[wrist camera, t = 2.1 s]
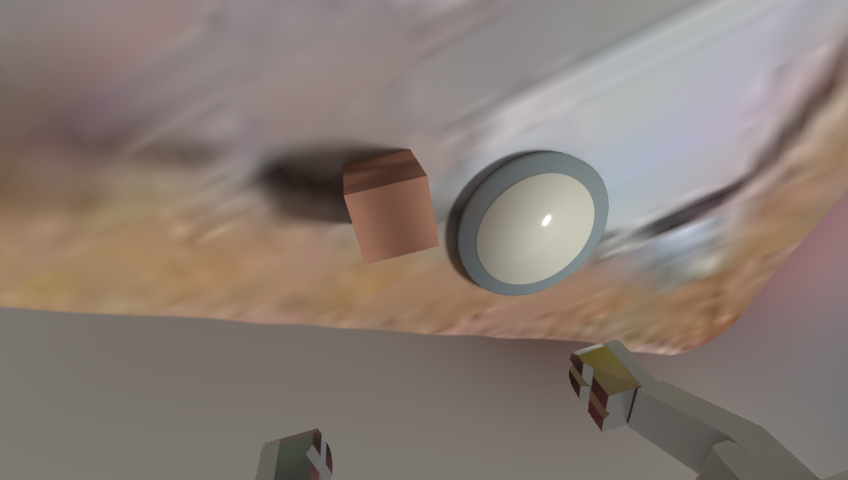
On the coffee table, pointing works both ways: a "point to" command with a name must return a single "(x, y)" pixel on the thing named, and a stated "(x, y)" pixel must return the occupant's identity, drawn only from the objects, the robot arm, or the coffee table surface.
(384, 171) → the block
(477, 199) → the dish
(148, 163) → the coffee table surface
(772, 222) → the coffee table surface
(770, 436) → the robot arm
